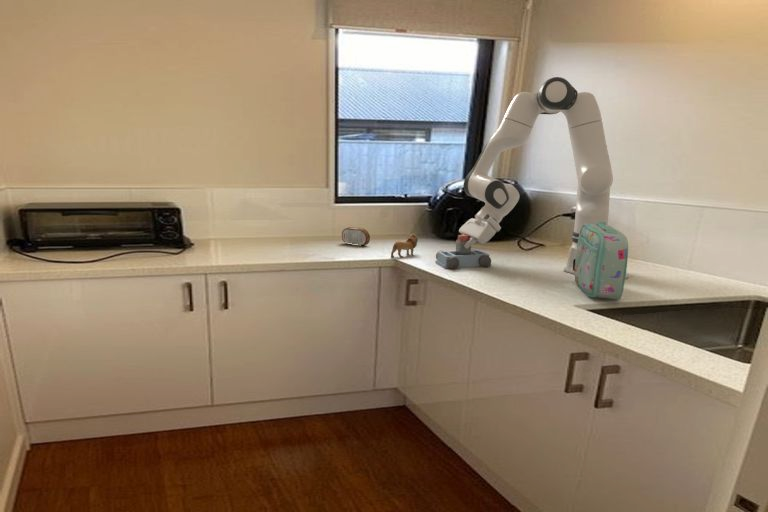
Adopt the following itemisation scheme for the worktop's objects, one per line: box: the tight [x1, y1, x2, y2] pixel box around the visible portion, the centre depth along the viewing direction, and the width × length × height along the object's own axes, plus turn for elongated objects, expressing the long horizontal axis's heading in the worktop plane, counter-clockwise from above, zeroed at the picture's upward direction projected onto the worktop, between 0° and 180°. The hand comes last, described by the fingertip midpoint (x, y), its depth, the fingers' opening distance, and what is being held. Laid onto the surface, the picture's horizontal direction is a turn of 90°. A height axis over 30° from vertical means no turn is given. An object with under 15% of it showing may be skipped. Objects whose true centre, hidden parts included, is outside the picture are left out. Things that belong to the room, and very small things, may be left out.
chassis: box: [435, 248, 492, 270], centre depth 186 cm, size 14×19×4 cm
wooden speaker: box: [341, 226, 371, 246], centre depth 226 cm, size 15×3×8 cm, turn 58°
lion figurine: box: [390, 233, 419, 258], centre depth 201 cm, size 15×5×9 cm, turn 132°
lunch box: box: [573, 221, 629, 301], centre depth 147 cm, size 27×10×21 cm, turn 171°
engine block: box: [455, 234, 472, 256], centre depth 185 cm, size 4×4×9 cm
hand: (461, 246), depth 185 cm, fingers closed on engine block, 4 cm apart
